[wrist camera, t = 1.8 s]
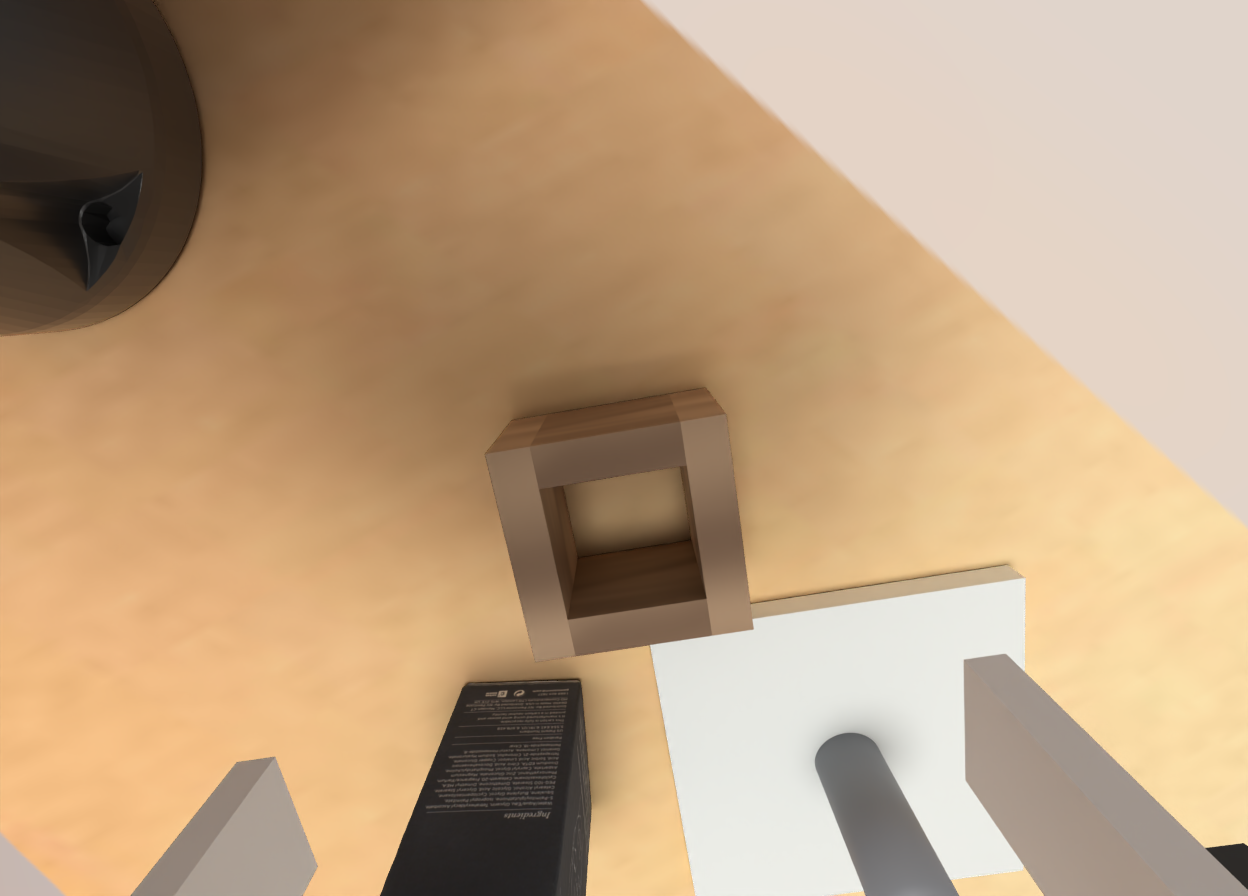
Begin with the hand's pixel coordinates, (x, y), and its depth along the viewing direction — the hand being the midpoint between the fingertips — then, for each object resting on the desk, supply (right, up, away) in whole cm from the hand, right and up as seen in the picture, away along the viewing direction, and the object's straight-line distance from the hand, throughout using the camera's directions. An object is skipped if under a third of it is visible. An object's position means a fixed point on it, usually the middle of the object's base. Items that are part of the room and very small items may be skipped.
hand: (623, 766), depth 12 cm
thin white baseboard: (+10, -8, +17) cm, 22 cm away
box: (-4, -8, +18) cm, 20 cm away
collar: (0, +4, +14) cm, 15 cm away
